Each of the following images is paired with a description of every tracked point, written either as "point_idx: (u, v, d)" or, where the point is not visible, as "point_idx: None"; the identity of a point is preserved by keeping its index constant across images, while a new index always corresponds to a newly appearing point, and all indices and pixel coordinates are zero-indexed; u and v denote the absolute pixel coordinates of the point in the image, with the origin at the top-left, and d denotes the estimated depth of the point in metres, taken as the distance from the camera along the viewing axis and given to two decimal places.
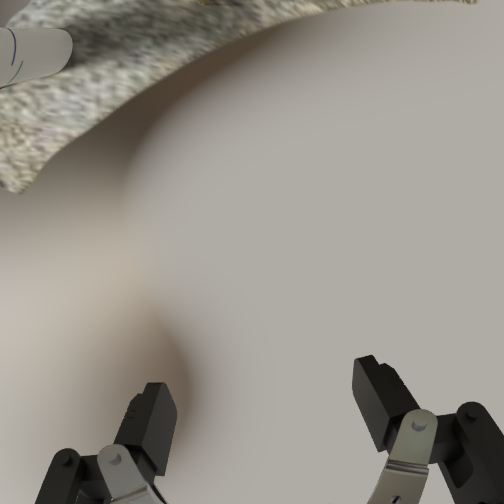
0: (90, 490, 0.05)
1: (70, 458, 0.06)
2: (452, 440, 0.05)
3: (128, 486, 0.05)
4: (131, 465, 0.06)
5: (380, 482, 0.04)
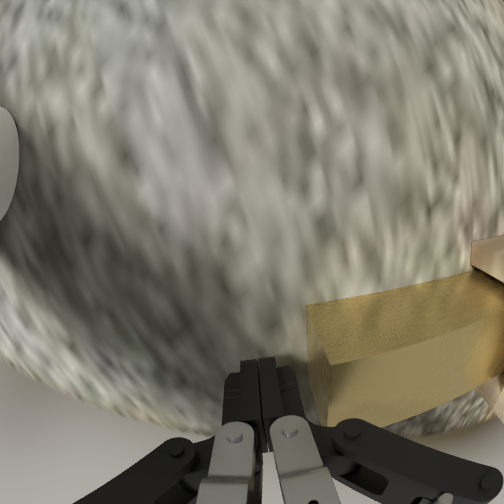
0: (187, 484, 0.06)
1: (182, 448, 0.07)
2: (326, 455, 0.06)
3: (231, 470, 0.06)
4: (248, 450, 0.07)
5: (286, 496, 0.05)
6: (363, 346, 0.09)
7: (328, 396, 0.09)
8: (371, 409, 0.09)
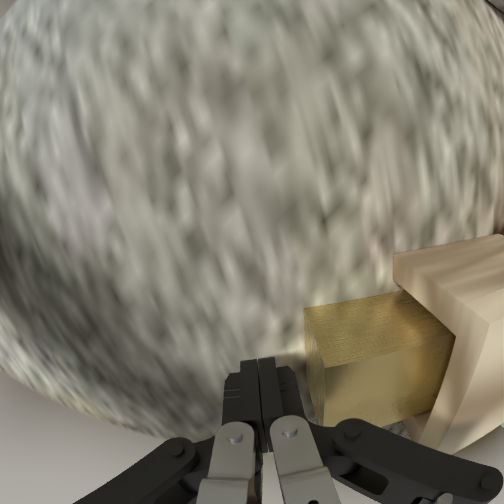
0: (187, 484, 0.06)
1: (182, 448, 0.07)
2: (326, 455, 0.06)
3: (231, 470, 0.06)
4: (248, 450, 0.07)
5: (286, 496, 0.05)
6: (358, 349, 0.09)
7: (324, 397, 0.09)
8: (366, 410, 0.09)
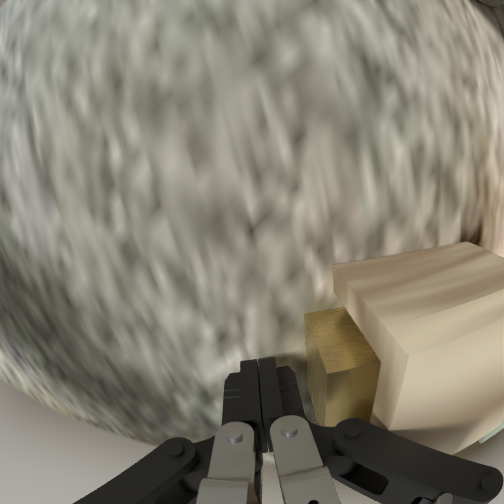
0: (187, 484, 0.06)
1: (182, 448, 0.07)
2: (326, 455, 0.06)
3: (231, 470, 0.06)
4: (248, 450, 0.07)
5: (286, 496, 0.05)
6: (359, 355, 0.09)
7: (325, 402, 0.09)
8: (367, 414, 0.09)
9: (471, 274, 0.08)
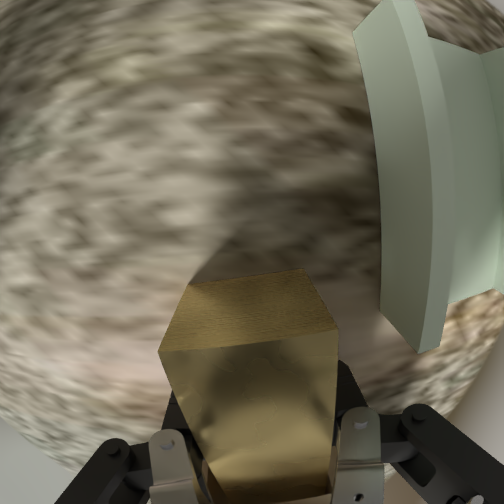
0: (132, 483, 0.06)
1: (118, 448, 0.07)
2: (396, 441, 0.06)
3: (173, 474, 0.06)
4: (183, 453, 0.07)
5: (336, 484, 0.05)
6: None
7: None
8: None
9: None
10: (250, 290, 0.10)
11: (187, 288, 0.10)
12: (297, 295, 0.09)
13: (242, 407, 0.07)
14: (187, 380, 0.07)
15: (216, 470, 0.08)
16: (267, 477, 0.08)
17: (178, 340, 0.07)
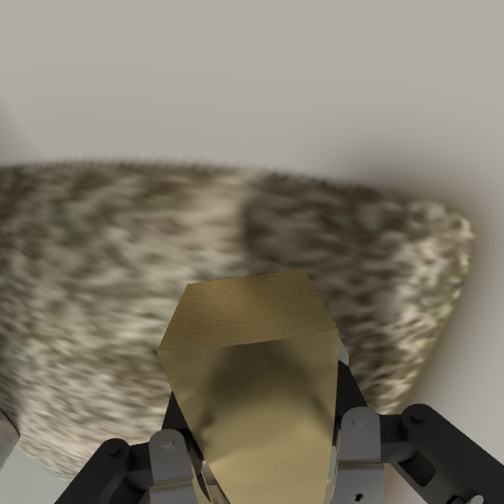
0: (132, 483, 0.06)
1: (118, 448, 0.07)
2: (396, 441, 0.06)
3: (173, 474, 0.06)
4: (183, 453, 0.07)
5: (336, 484, 0.05)
6: None
7: None
8: None
9: None
10: (250, 290, 0.09)
11: (187, 288, 0.10)
12: (297, 295, 0.09)
13: (242, 408, 0.07)
14: (187, 380, 0.07)
15: (216, 470, 0.08)
16: (267, 477, 0.08)
17: (178, 340, 0.07)
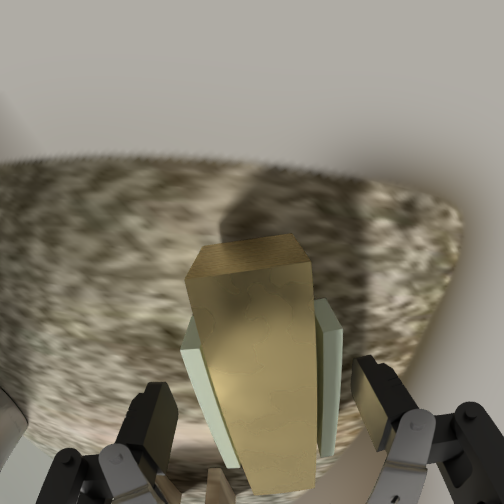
0: (91, 490, 0.06)
1: (71, 457, 0.06)
2: (450, 440, 0.05)
3: (129, 486, 0.05)
4: (133, 465, 0.06)
5: (379, 482, 0.04)
6: None
7: None
8: (292, 483, 0.14)
9: None
10: (250, 246, 0.13)
11: (202, 248, 0.14)
12: (285, 247, 0.12)
13: (244, 328, 0.10)
14: (204, 303, 0.10)
15: (222, 399, 0.12)
16: (265, 408, 0.12)
17: (199, 273, 0.10)
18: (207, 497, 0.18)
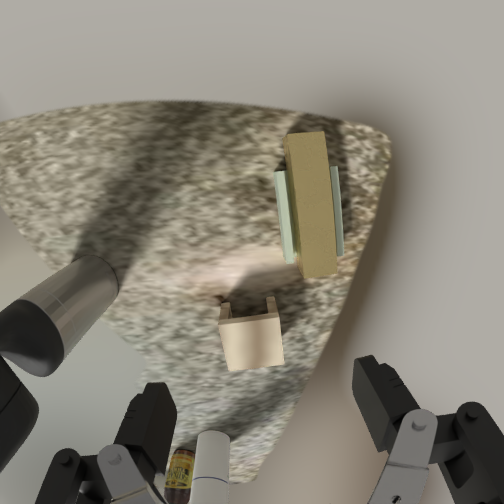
0: (90, 490, 0.05)
1: (70, 458, 0.06)
2: (452, 440, 0.05)
3: (128, 486, 0.05)
4: (131, 465, 0.06)
5: (380, 482, 0.04)
6: (302, 267, 0.36)
7: (315, 276, 0.36)
8: (325, 262, 0.35)
9: None
10: None
11: (283, 137, 0.35)
12: None
13: (305, 151, 0.32)
14: (293, 141, 0.31)
15: (295, 184, 0.33)
16: (312, 190, 0.33)
17: (290, 134, 0.31)
18: (269, 308, 0.39)
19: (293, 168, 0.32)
